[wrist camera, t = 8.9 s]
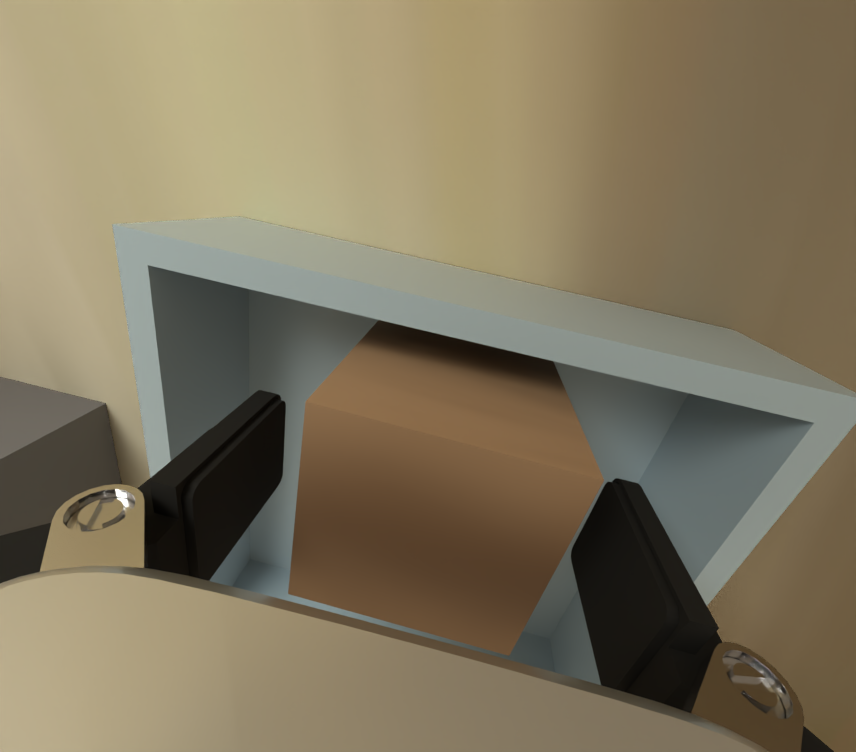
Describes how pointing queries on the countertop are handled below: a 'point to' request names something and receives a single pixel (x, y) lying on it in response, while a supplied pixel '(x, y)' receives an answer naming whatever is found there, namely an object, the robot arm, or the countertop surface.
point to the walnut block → (439, 485)
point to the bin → (489, 325)
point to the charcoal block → (49, 452)
